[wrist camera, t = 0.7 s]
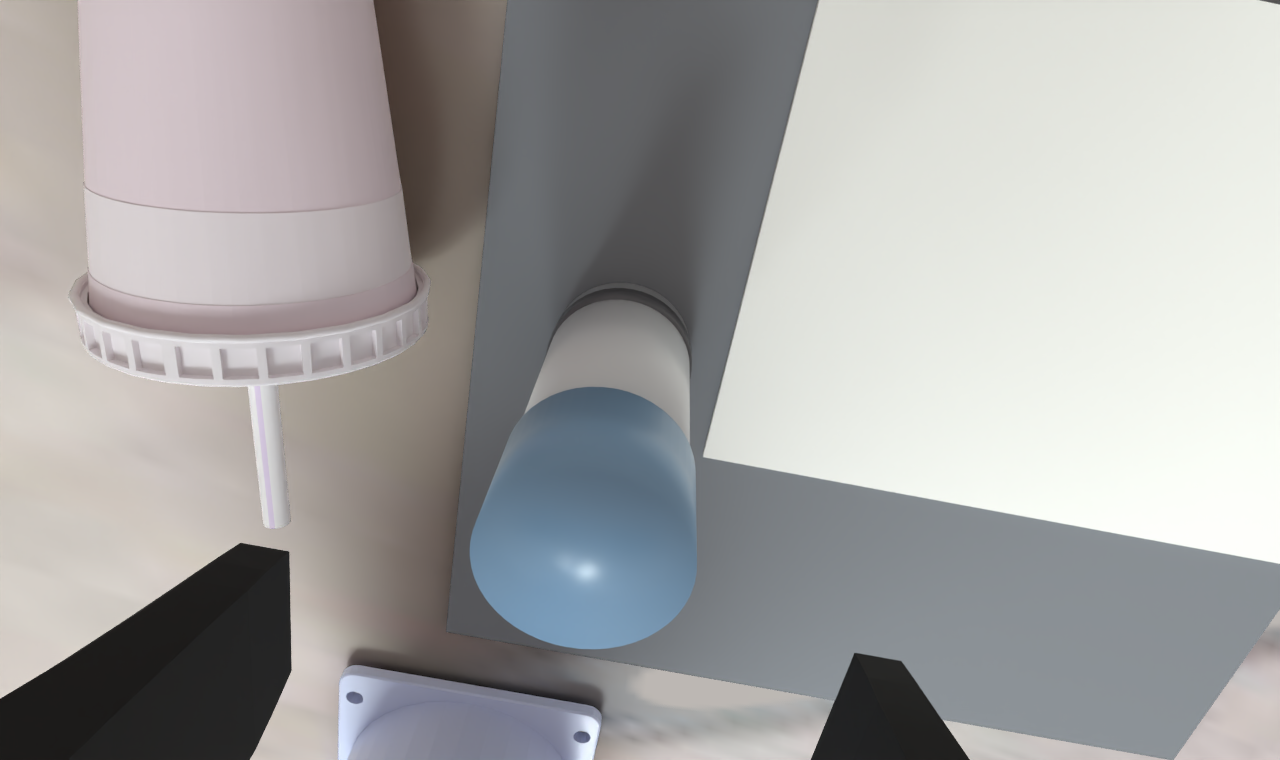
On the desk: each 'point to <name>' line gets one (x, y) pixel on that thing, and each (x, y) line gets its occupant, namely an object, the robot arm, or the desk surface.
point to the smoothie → (242, 202)
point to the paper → (1026, 266)
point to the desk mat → (778, 501)
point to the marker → (597, 480)
